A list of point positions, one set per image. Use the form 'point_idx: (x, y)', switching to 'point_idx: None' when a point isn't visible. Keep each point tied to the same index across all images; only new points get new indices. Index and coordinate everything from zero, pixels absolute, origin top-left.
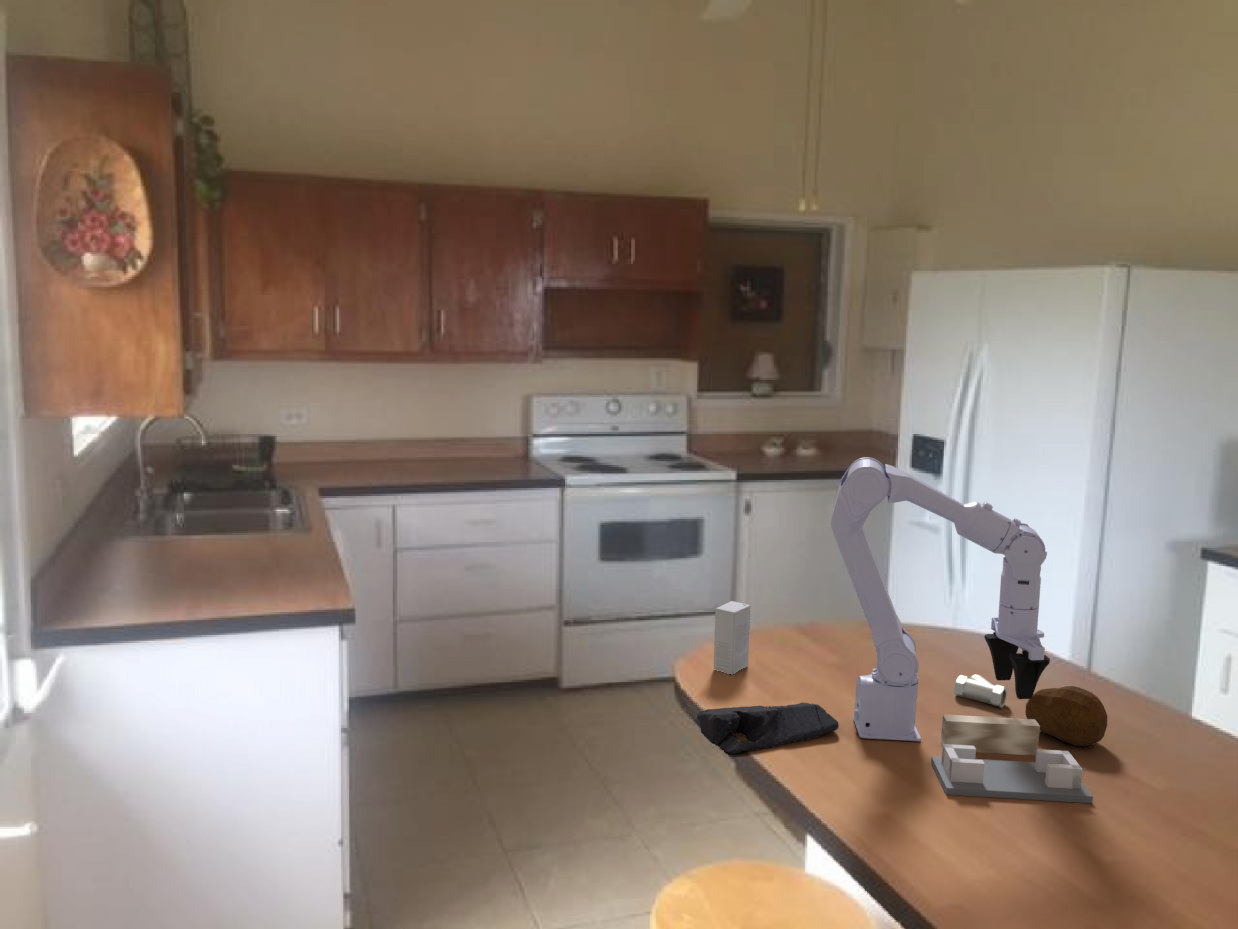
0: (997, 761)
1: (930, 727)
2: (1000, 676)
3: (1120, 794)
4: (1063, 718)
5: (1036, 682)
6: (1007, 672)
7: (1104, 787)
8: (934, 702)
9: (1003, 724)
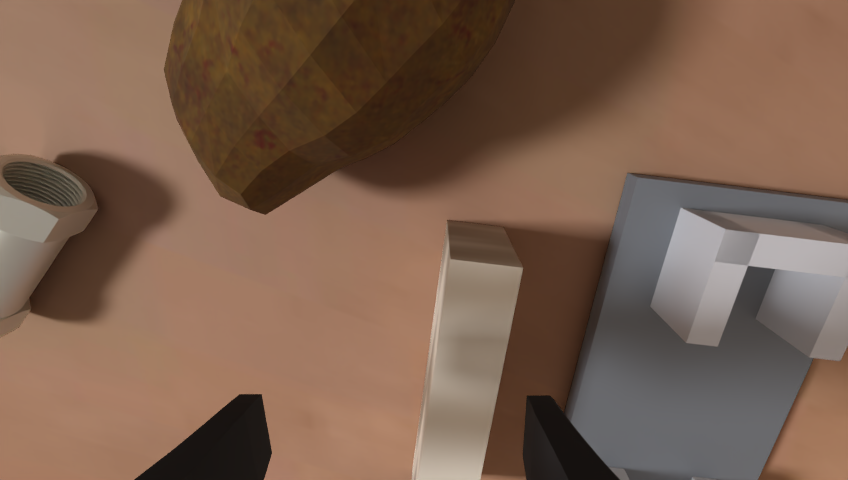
0: (586, 394)
1: (301, 458)
2: (259, 460)
3: (831, 63)
4: (428, 109)
5: (613, 476)
6: (241, 446)
7: (768, 97)
8: (96, 390)
9: (495, 399)
